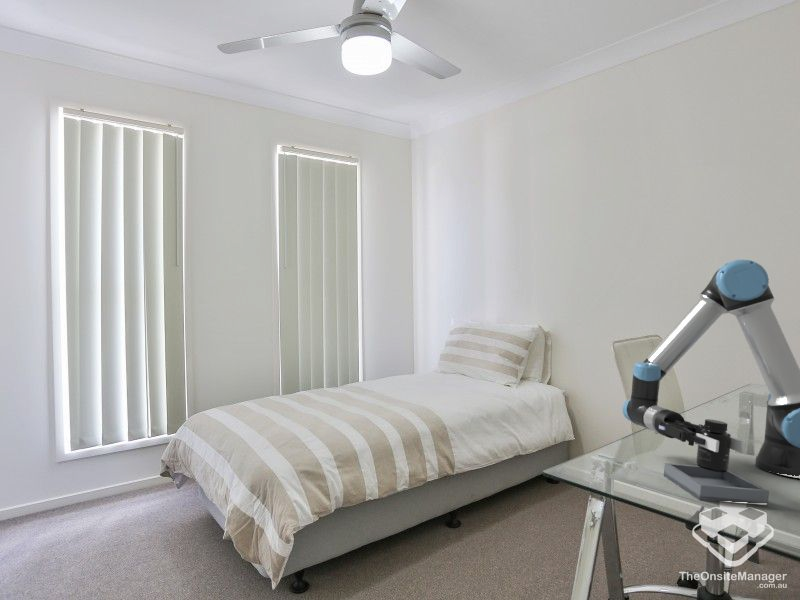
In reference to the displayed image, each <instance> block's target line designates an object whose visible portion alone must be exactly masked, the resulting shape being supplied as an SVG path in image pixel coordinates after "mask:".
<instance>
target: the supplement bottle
mask: <svg viewBox="0 0 800 600" xmlns="http://www.w3.org/2000/svg"><path fill="white" fill-rule="evenodd" d="M703 425H704V427H705V429H703V430H701V431H700V432H699V434H702V435H704V436H707V437H710V438H712V439H715V440H718V441H719V450H718V452H714V451H712V450H709V449H707V448H704V447H702V446H700V445H697V449H696V460H695V462H696V466H699V467H701V468H703V469H706V470H709V471H714V472H721V473H724V472H727V471H728V470H729V465H730V464H729V463H730V461H729V460H730V452H731V449H730V443H731V438H730V437H731V436H729V435H728V434H729V433H728V423H727V422H725V421H722V420H716V419H704V424H703ZM726 432H727V433H728V434H727V433H726Z"/></svg>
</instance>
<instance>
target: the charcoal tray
mask: <svg viewBox="0 0 800 600" xmlns="http://www.w3.org/2000/svg"><path fill="white" fill-rule="evenodd" d="M663 467H664V468H663V476H664V478H666V477H667V478H666V479H668V480H669V481H671V482H672V483H673V484H675V485H677V486H678V485H679V486H678V487H680V488H681V489H683V490H684V491H686V492H687V493H689V494H690V495H691V496H693V497H694V498H695V499H698V500H699V501H706V502H715V503H717V502H716V501H732V502H748V503H769V490H767V489H765V488H763V487H762V486H759V485H757V484H755V483H754V482H751V481H750V480H747V478H744V477H742V476H740V475H738V474H736V473H734V472H732V471H731V470H729V469H728V471H727V472H724V473H721V472H714V471H709V470H706V469H703V468H701V467H699V466H698V465H691V464H681V463H668V462H664V466H663Z"/></svg>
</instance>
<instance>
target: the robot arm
mask: <svg viewBox="0 0 800 600" xmlns="http://www.w3.org/2000/svg"><path fill="white" fill-rule="evenodd" d="M769 281H770V279H769V275H768V272H767V271H766V269H765V268H764V267H763V265H761V264H760V263H758V262H755V261H753V260H750V259H735V260H732V261H729V262H727V263H725V264H724V265H722V266H721V267H720V268H718V270H717V271H715V273H714V274H713V276H712V278H711V280H710V281H709V282H708V283H707V285H706V286H705V288H704V289H703V290H702V291H701V293H699V300H698V301H697V302H696V303H695V304H694V305H693V306H692V307H691V309H689V310H688V312H687V313H686V314H685V315H684V316H683V318H681V320H680V321H679V322H678V323H677V324H676V325H675V326H674V327H673V328H672V329H671V330H670V332H669V333H668V334H667V335H666V336H665V337H664V339H663V340H662V341H661V342H660V343H659V344H658V345H657V346H656V347H655V348H654V349H653V350H652V352H651V353H650V354H649V355H648V356H647V357H646V358H645V360H643V361H641V362H638V361H637V362H635V363H634V366H633V370H632V381H631V382H632V383H631V394H630V395H631V396H630V398H629V399H627V400H625V402H624V404H623V405H622V414H623V416H624V418H625V419H627V420H628V421H629V422H631V423H633V424H635V425H637V426H639V427H643V428H645V429H648V430H649V431H652V432H654V434H655V435H661V436H664V437H666V438H669V439H675V440H676V439H677V440H678V441H680V442H682V443H685V442H688V446H691V447H693V446H694V445H697V446H698V445H700V446H702V447H704V448H707V449H709V450H712V451H714V452H718V450H719V441H718V440H715V439H712V438H710V437H707V436H704V435H702V434H699V432H700V431H701V430H703V429H705V427H704V424H694V423H691V421H687V420H685V419H684V417H683V415H681V413H679V412H676V411H673V410H670V409H669V408H665V407H663V406H659V405H658V402H659V392H660V382H661V380H662V379H663V378H664V377H665V376H666V375H667V373H668V372H670V371H671V370H672V368H673V367H674V366H675V365H676V364H677V363H679V361H680V360H681V359H682V357H684V356H685V354H686V353H687V352H688V351H689V350H690V349H691V348H692V347H693V346H694V345H695V344H696V343H697V342H698V341H699V339H700V338H701V337H702V336H703V335H704V334H705V333H706V332H707V331H708V330H709V329H710V328H711V327H712V326H713V325H714V324H715V323H716V322H717V320H718V319H719V318H720V317H721V316H722V315H723V314H731V315H733V316H734V317H736V319H737V322H738V324H739V327H740V328H741V331H742V333H743V336H744V337H745V340H746V342H747V345H748V346H749V347H748V348H749V349H750V351H751V354H752V355H753V356H752V357H753V358H754V360H755V362H756V364H757V367H758V370H759V371H760V373H761V376H762V379H763V380H764V382H765V385H766V386H767V389H768V391H769V394H768V396H767V399H766V400H767V401H766V414H765V415H766V416H765V418H766V419H765V428H764V429H765V430H764V439H763V443H762V444H761V446H760V449H759V451H758V453H757V455H756V456H755V461H754V463H755V464H754V465H755V466H756V467H757V468H758V469H761V470H763V471H765V470H767V471H766V472H768V471H771V472H774V473H779V474H787V475H792V476H794V475H795V476H799V475H800V367H799V364H798V363H797V360H796V358H795V356H794V354H793V352H792V350H791V347H790V346H789V343H788V341H787V338H786V336H785V334H784V331H783V330H782V328H781V326H780V324H779V321H778V319H777V316H776V315H775V312H774V310H773V308H772V304H773V303H774V300H775V297H774V295H773V293H772V290H771V287H770V286H769V283H770V282H769ZM726 433H727V434H728V435H729V436H730V438H731V443H730V450H732V451H735V452H738V453H741V454H745V453H746V445H747V442H746V441H743V440H740V439H737V438H734V437H732V436H731V434H730V433H728V431H726ZM774 473H773V474H774Z"/></svg>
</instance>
